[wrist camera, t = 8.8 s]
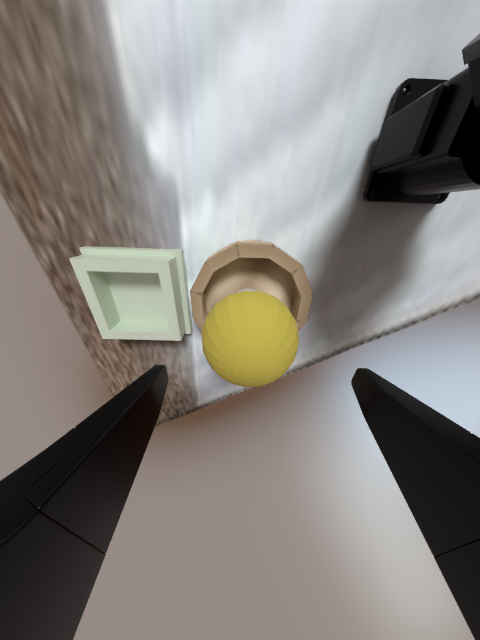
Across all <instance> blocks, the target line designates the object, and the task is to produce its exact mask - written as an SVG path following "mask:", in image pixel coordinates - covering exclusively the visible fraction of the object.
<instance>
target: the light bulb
mask: <svg viewBox="0 0 480 640" xmlns="http://www.w3.org/2000/svg"><path fill="white" fill-rule="evenodd" d="M202 343H203V352H204V354H205V356H206V358H207V360H208V362H209V364H210V366H211V368H212V369H213V370H214V371H215V372H216V373H217V374H218V375H219V376H220V377H222V378H223V379H225V380H226V381H228V382H230V383H232V384H235V385H239V386H243V387H256V386H262V385H266V384H268V383H271V382H273V381H275V380H276V379H278V378H279V377H280V376H282V375H283V374H284V373H285V372H286V371H287V370H288V368H289V367H290V365H291V364H292V362H293V361H294V359H295V356H296V352H297V348H298V343H299V336H298V330H297V324H296V321H295V319H294V317H293V316H292V314H291V312H290V311H289V309H288V307H287V306H286V305H285V304H284V303H282V302H281V301H280V300H278V299H277V298H276V297H275V296H272V295H269V294H266V293H263V292H260V291H256V290H253V289H248V288H245V289H242V290H239V291H238V292H236V293H235V294H231V295H228V296H227V297H225V298H224V299H222V300H221V301H219V302H218V303H216V304H215V306H214V307H213V308H212V310H211V311H210V312H209V313H208V315H207V317H206V320H205V323H204V326H203V330H202Z"/></svg>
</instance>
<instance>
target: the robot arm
mask: <svg viewBox="0 0 480 640" xmlns="http://www.w3.org/2000/svg"><path fill="white" fill-rule="evenodd" d="M462 53H463V59H464V65H465V64H467V63H468V66H469V67H468V68H467V69H465V70H464V71H462V72H460V73H459V74H457V75H456V76H454V77H453V78H451V79H450V80H438V79H416V78H410V79H407V80H405V81H404V82H403V83H402V84H400V85H399V86H398V88H397V89H396V91H395V94H394V97H393V100H392V104H391V107H390V110H389V113H388V117H387V120H386V121H385V122H384V123H383V126H382V130H381V133H380V136H379V140H378V143H377V146H376V150H375V153H374V156H373V160H372V163H371V173H370V176H369V179H368V182H367V186H366V189H365V192H364V200H365V201H368V202H393V203H420V204H439V203H442V202H443V201H445V200H446V198H447V197H448V195H449V193H450V192H457V191H466V190H476V189H480V34H479V35H478V36H477V37H475V38H474V39H473V40H472V41H471V42H470V43H469V44H468V45H467V46H465V47H464V48H463V49H462ZM404 88H405V89H406V95H405V96H404V95H403V89H404ZM371 191H373V196H372V197H370V193H371ZM439 194H440V197H439V199H438V196H439ZM351 383H352V387H353V390H354V392H355V395H356V397H357V400H358V403H359V405H360V408H361V410H362V413H363V415H364V418H365V420H366V422H367V424H368V426H369V428H370V430H371V432H372V434H373V436H374V438H375V440H376V442H377V444H378V446H379V448H380V450H381V452H382V454H383V456H384V458H385V460H386V461H387V464H388V466H389V468H390V470H391V472H392V474H393V476H394V478H395V480H396V482H397V484H398V486H399V488H400V490H401V492H402V494H403V496H404V498H405V500H406V502H407V504H408V506H409V508H410V510H411V512H412V514H413V516H414V518H415V520H416V522H417V524H418V526H419V528H420V530H421V532H422V534H423V536H424V538H425V540H426V542H427V544H428V546H429V548H430V550H431V552H432V554H433V556H434V558H435V560H436V562H437V564H438V566H439V568H440V570H441V572H442V574H443V576H444V578H445V580H446V582H447V584H448V586H449V588H450V590H451V592H452V594H453V596H454V598H455V600H456V602H457V604H458V606H459V608H460V610H461V612H462V614H463V617H464V619H465V621H466V622H467V625H468V626H469V628H470V630H471V633H472V635H473V637H474V639H475V640H480V438H479V437H477V436H476V435H474V434H471V433H470V432H469V431H467V430H466V429H464V428H463V427H461V426H459V425H458V424H456V423H454V422H453V421H451V420H450V419H448V418H447V417H445V416H443V415H442V414H440V413H439V412H437V411H435V410H434V409H432V408H430V407H429V406H427V405H426V404H424V403H422V402H421V401H419V400H417V399H416V398H414V397H413V396H411V395H409V394H408V393H406V392H405V391H403V390H401V389H400V388H398V387H397V386H395V385H393V384H392V383H390V382H389V381H387V380H385V379H384V378H382V377H381V376H379V375H377V374H376V373H374V372H373V371H371V370H369V369H367V368H358V369H357V370H356V372H355V374H354V376H353V378H352V382H351ZM167 384H168V374H167V370H166V366H165V365H155V366H153V367H152V368H151V369H149V370H148V371H147V372H145V373H144V374H143V375H142V376H140V377H139V378H138V379H136V380H135V381H134V382H133V383H131V384H130V385H129V386H127V387H126V388H125V389H123V390H122V391H121V392H120V393H118V394H117V395H116V396H114V397H113V398H112V399H110V400H109V401H108V402H107V403H105V404H104V405H103V406H101V407H100V408H99V409H98V410H97V411H95V412H94V413H92V414H91V415H90V416H89V417H87V418H86V419H85V420H83V421H82V422H81V423H80V424H78V425H77V426H76V427H75V428H73V429H71V430H70V431H69V432H68V433H66V434H65V435H64V436H62V437H61V438H60V439H58V440H57V441H56V442H54V443H53V444H52V445H50V446H49V447H48V448H46V449H45V450H44V451H42V452H41V453H39V454H38V455H37V456H35V457H34V458H32V459H31V460H30V461H28V462H27V463H25V464H24V465H23V466H21V467H20V468H19V469H17V470H15V471H14V472H13V473H11V474H10V475H8V476H7V477H5V478H4V479H2V480H1V481H0V640H73V638H74V635H75V633H76V630H77V628H78V625H79V622H80V620H81V617H82V615H83V612H84V609H85V607H86V604H87V602H88V599H89V596H90V594H91V591H92V589H93V586H94V583H95V581H96V578H97V576H98V573H99V570H100V568H101V565H102V563H103V560H104V557H105V553H106V551H107V549H108V547H109V544H110V541H111V539H112V536H113V534H114V531H115V528H116V526H117V523H118V520H119V518H120V515H121V513H122V510H123V508H124V505H125V503H126V500H127V497H128V495H129V492H130V490H131V487H132V484H133V482H134V479H135V477H136V474H137V471H138V469H139V466H140V464H141V461H142V458H143V456H144V453H145V451H146V448H147V445H148V443H149V440H150V438H151V435H152V432H153V430H154V427H155V425H156V422H157V419H158V417H159V414H160V410H161V407H162V403H163V399H164V396H165V392H166V388H167Z"/></svg>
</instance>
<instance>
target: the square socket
mask: <svg viewBox="0 0 480 640" xmlns="http://www.w3.org/2000/svg"><path fill="white" fill-rule="evenodd" d="M79 249H80V251H81V254H82V255H80V256H76V257H72V258H69V259H70V262H71V264H72V266H73V269H74V271H75V273H76V276H77V278H78V281H79V283H80V285H81V288H82V290H83V292H84V295H85V297H86V300H87V302H88V304H89V307H90V309H91V312H92V314H93V316H94V319H95V321H96V323H97V326H98V328H99V331H100V333H101V335H102V338H103V339H133V340H173V341H181V340H182V338H183V335H184V334H191V332H192V322H191V313H190V305H189V297H188V288H187V280H186V271H185V263H184V254H183V249H152V248H121V247H90V246H85V247H80V248H79Z"/></svg>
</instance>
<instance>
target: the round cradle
mask: <svg viewBox="0 0 480 640" xmlns="http://www.w3.org/2000/svg"><path fill="white" fill-rule="evenodd" d="M245 288H248V289H253V290H256V291H260V292H263V293H266V294H269V295H272V296H275V297H276V298H277V299H278V300H280V301H281V302H282V303H284V304H285V305H286V306H287V307H288V309H289V311H290V312H291V314H292V316H293V317H294V319H295V321H296V324H297V330H298V331H299V330H300V329H301V328H302V327H303V326H304V325H305V324H306V323H305V322H307V318H308V314H309V310H310V305H311V301H312V297H313V295H312V294H313V293H312V290H311V287H310V285H309V282H308V279H307V276H306V274H305V271H304V268H303V266H302V265H301V264H300V263H299V262H298V261H297V260H295V259H294V258H292V257H291V256H290V255H288V254H287V253H285V252H284V251H283V250H281V249H280V248H278V247H277V246H275V245H274V244H273V243H270V242H262V241H255V240H246V241H237V242H234V243H232V244H230V245H228V246H226V247H224V248H222V249H221V250H219V251H218V252H216V253H215V254H213V255H212V256H210V257H209V258H208V259H207V260H206V262H205V263H204V265H203V267H202V269H201V271H200V273H199V275H198V277H197V278H196V280H195V282H194V284H193V286H192V288H191V290H190V296H191V305H192V314H193V319H194V322H195V323H196V324H197V326H198V327H199V328H200V329H201V331H202V330H203V326H204V323H205V320H206V317H207V315H208V313H209V312H210V311H211V310H212V308H213V307H214V306H215V304H216V303H218V302H219V301H221V300H222V299H224V298H225V297H227V296H228V295H231V294H235V293H236V292H238V291H239V290H242V289H245Z"/></svg>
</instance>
